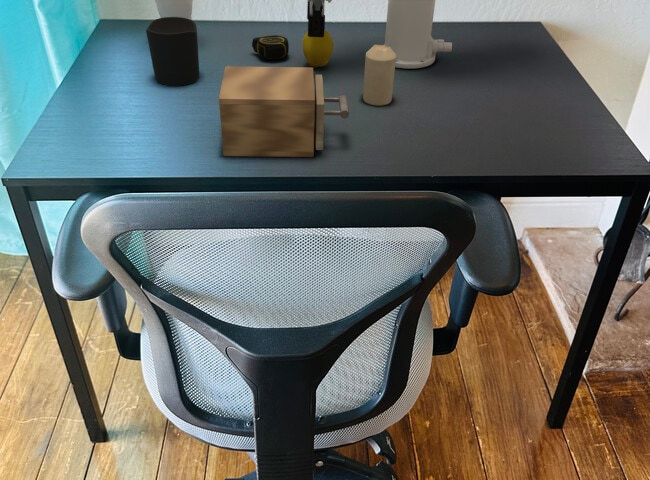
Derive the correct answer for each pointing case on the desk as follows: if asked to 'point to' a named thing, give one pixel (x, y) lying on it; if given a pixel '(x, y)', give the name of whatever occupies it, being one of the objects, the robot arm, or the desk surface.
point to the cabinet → (267, 111)
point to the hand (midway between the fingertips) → (315, 28)
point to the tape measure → (271, 46)
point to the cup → (175, 8)
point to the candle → (379, 75)
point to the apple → (317, 49)
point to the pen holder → (174, 50)
